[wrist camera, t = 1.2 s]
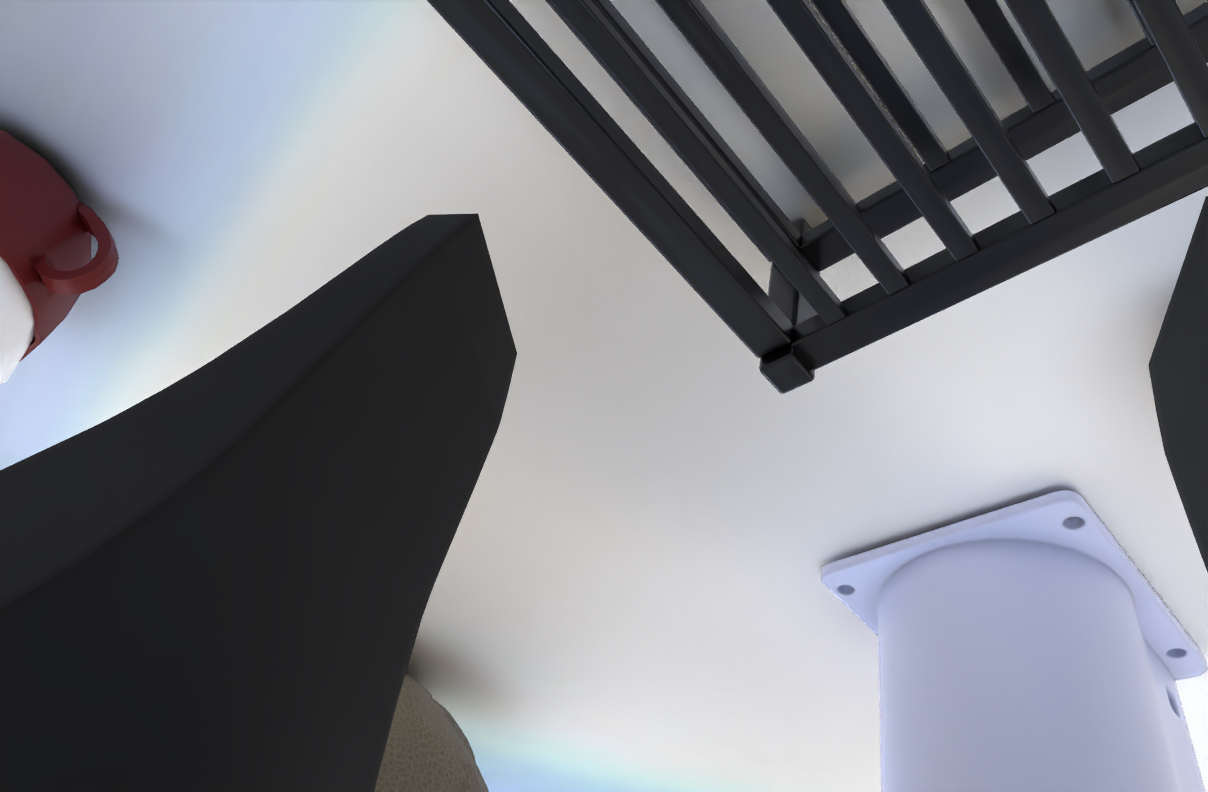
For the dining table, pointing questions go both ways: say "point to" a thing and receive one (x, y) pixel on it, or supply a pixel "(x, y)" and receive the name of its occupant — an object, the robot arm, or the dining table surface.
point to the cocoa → (42, 251)
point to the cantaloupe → (426, 748)
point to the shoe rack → (997, 148)
